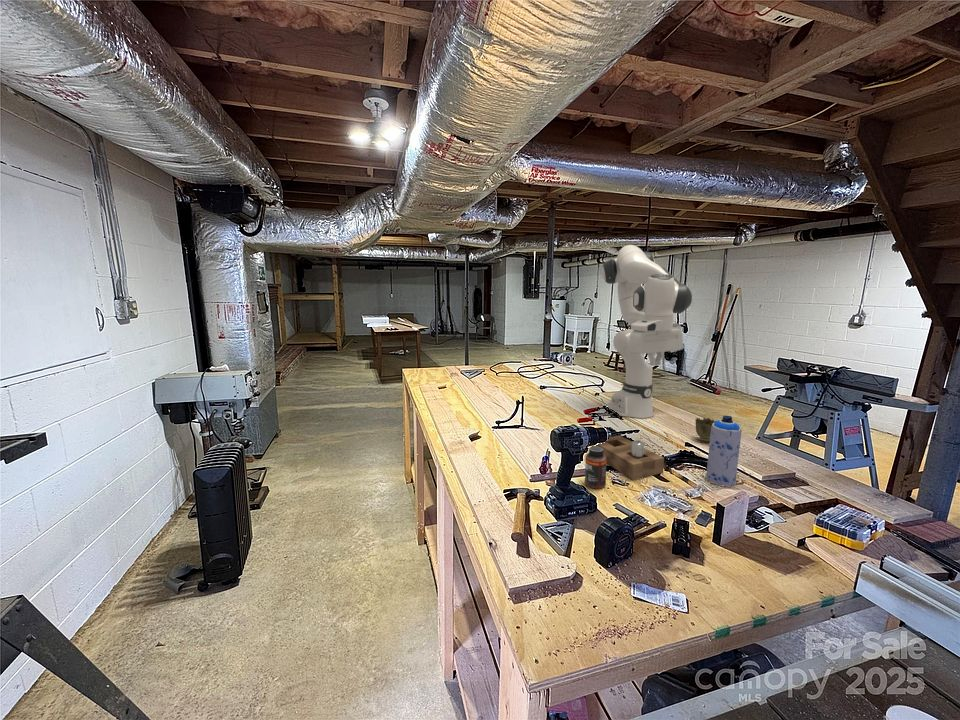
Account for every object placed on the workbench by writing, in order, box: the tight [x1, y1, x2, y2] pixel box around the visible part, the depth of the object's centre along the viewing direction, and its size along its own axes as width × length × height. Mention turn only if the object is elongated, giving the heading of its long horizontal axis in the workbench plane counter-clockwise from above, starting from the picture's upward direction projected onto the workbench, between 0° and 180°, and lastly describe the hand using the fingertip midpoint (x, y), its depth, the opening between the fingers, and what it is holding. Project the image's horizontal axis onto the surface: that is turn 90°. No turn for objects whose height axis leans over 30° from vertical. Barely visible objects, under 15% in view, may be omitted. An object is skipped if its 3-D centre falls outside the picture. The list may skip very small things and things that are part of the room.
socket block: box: [596, 435, 665, 481], centre depth 125 cm, size 20×12×5 cm, turn 21°
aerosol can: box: [705, 415, 743, 487], centre depth 112 cm, size 8×8×20 cm
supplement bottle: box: [584, 445, 607, 490], centre depth 111 cm, size 6×6×11 cm
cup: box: [695, 417, 717, 443], centre depth 142 cm, size 8×7×8 cm
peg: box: [631, 440, 645, 459], centre depth 121 cm, size 4×4×9 cm
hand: (655, 365), depth 129 cm, fingers closed
